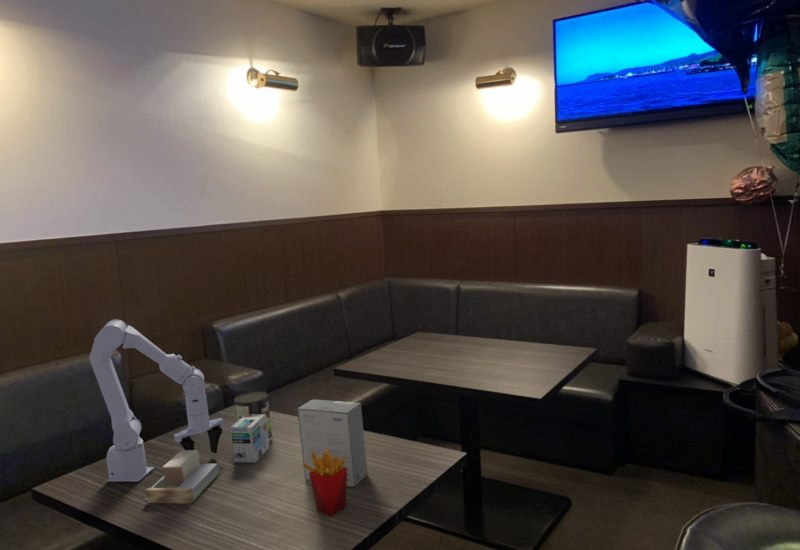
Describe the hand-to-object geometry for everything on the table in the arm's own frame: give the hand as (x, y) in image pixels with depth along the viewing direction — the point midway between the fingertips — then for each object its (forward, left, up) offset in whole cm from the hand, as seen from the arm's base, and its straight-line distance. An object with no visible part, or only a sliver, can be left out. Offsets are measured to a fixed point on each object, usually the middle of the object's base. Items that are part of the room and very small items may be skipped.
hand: (203, 456), depth 173 cm
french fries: (+45, -26, -2) cm, 52 cm away
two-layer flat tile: (+6, -14, -2) cm, 15 cm away
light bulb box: (+13, +5, -2) cm, 14 cm away
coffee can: (+10, +15, -2) cm, 18 cm away
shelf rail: (+2, -22, -2) cm, 23 cm away
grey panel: (-4, -14, -2) cm, 15 cm away
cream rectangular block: (-1, -10, -2) cm, 10 cm away
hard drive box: (+42, -9, -2) cm, 43 cm away
